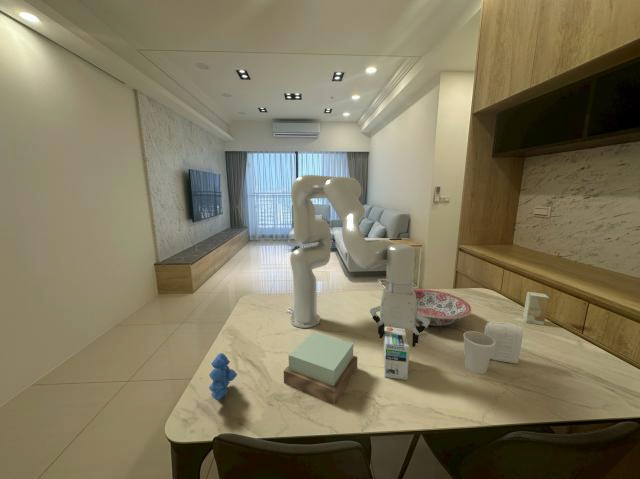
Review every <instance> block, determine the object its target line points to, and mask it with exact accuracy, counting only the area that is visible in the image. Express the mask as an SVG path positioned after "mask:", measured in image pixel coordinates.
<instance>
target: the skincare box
mask: <svg viewBox="0 0 640 479" xmlns="http://www.w3.org/2000/svg"><path fill="white" fill-rule="evenodd" d="M525 298H526V299H525V302H524V309H523V315H522V319H523V321H524V322H525V323H526V324H528V323H529V324H534V325H539V326H545V321H546V315H547V310H548V305H549V300H550V297H549V296H548V295H547V294H546V293H542V292H541V293H538V292H534V291H533V292H532V291H527V293H526V297H525Z"/></svg>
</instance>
